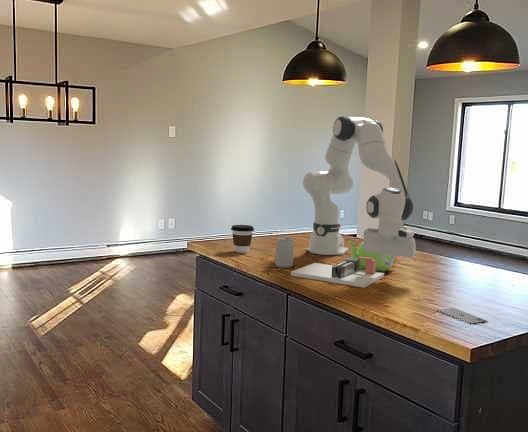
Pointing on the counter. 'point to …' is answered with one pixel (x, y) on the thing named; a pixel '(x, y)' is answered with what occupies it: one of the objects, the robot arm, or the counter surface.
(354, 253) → the teapot
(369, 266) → the lock tab
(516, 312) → the counter surface
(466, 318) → the smartphone
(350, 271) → the tongs fixed
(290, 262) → the can
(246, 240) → the coffee cup
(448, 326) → the counter surface
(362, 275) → the board
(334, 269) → the tongs arm
